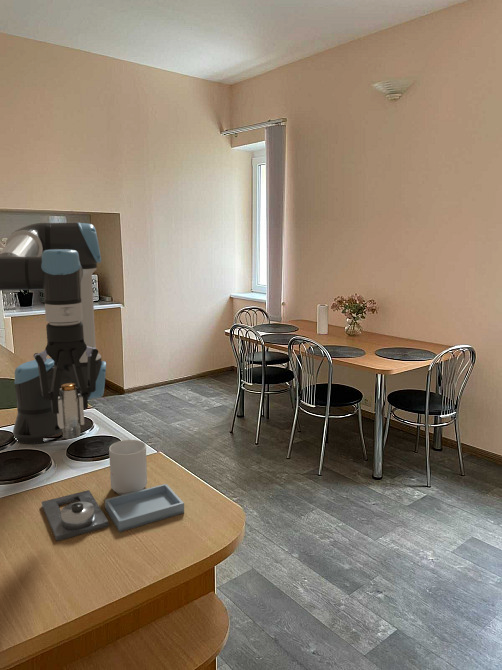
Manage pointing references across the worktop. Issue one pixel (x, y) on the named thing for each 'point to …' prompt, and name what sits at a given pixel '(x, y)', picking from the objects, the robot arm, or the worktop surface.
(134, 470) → the mug
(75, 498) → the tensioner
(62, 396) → the pin
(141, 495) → the tray
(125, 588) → the worktop surface
